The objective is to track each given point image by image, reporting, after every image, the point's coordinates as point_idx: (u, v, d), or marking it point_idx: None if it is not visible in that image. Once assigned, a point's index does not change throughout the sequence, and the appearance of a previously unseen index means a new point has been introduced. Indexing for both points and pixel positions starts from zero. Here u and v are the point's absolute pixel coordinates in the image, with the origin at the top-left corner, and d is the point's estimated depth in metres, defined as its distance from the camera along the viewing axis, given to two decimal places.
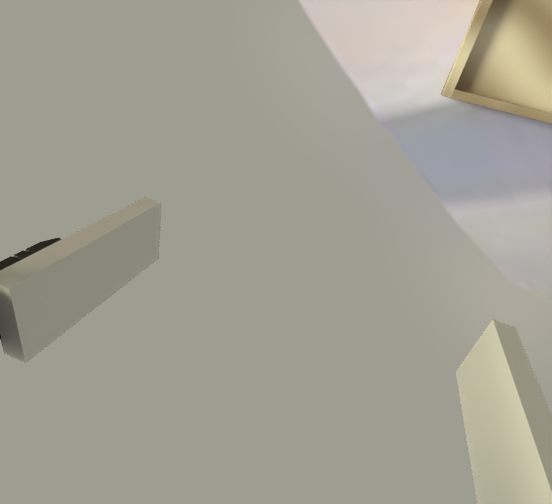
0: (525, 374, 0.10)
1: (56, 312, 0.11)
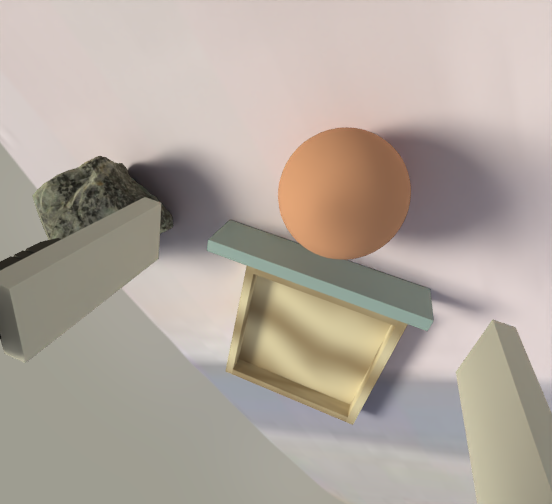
0: (525, 374, 0.10)
1: (56, 312, 0.11)
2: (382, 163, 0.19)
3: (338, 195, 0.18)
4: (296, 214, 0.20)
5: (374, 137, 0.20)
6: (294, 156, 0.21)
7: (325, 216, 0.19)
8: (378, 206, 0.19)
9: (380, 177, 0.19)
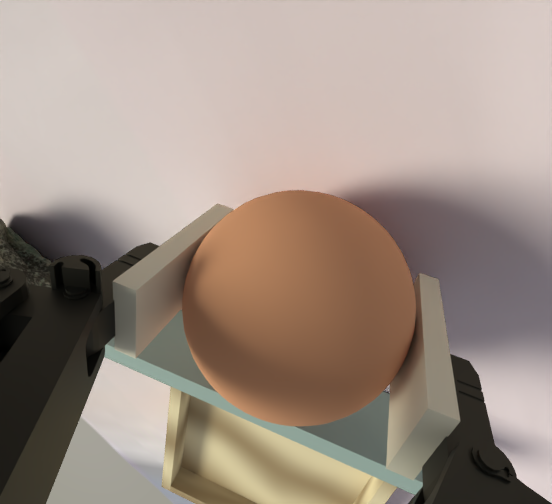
0: (434, 311, 0.12)
1: (159, 312, 0.12)
2: (359, 279, 0.09)
3: (268, 346, 0.09)
4: (200, 360, 0.11)
5: (347, 217, 0.10)
6: (202, 245, 0.11)
7: (247, 380, 0.10)
8: (351, 366, 0.09)
9: (356, 310, 0.09)
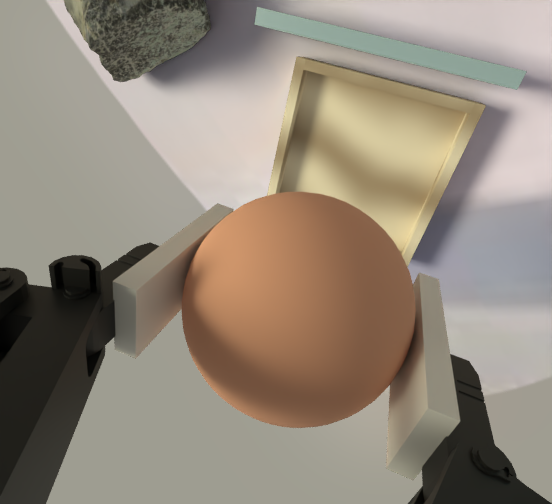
0: (434, 311, 0.12)
1: (159, 312, 0.12)
2: (358, 280, 0.09)
3: (268, 348, 0.09)
4: (200, 361, 0.11)
5: (347, 219, 0.10)
6: (202, 247, 0.11)
7: (246, 382, 0.10)
8: (351, 367, 0.09)
9: (355, 311, 0.09)
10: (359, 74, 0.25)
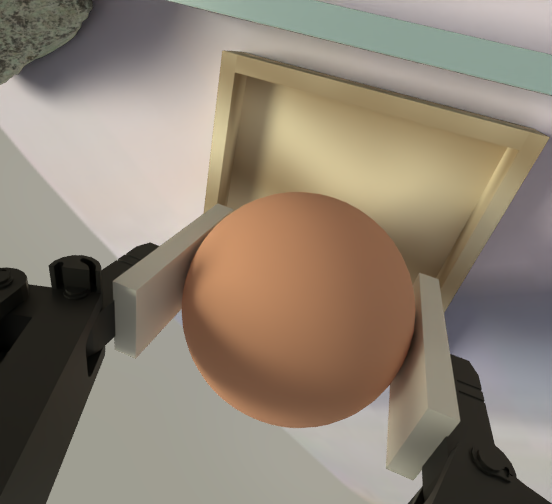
0: (434, 311, 0.12)
1: (159, 312, 0.12)
2: (358, 281, 0.09)
3: (268, 348, 0.09)
4: (200, 361, 0.11)
5: (346, 219, 0.10)
6: (202, 247, 0.11)
7: (246, 382, 0.10)
8: (351, 367, 0.09)
9: (355, 311, 0.09)
10: (326, 80, 0.15)
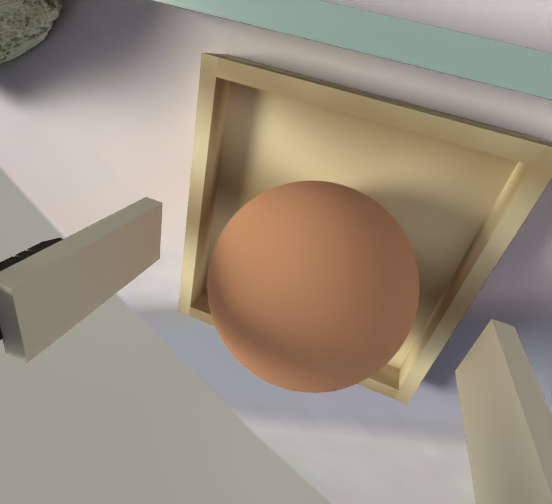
0: (523, 373, 0.10)
1: (58, 312, 0.11)
2: (373, 256, 0.11)
3: (296, 317, 0.10)
4: (230, 335, 0.12)
5: (359, 203, 0.12)
6: (227, 232, 0.12)
7: (276, 350, 0.11)
8: (369, 332, 0.11)
9: (372, 283, 0.10)
10: (317, 86, 0.13)
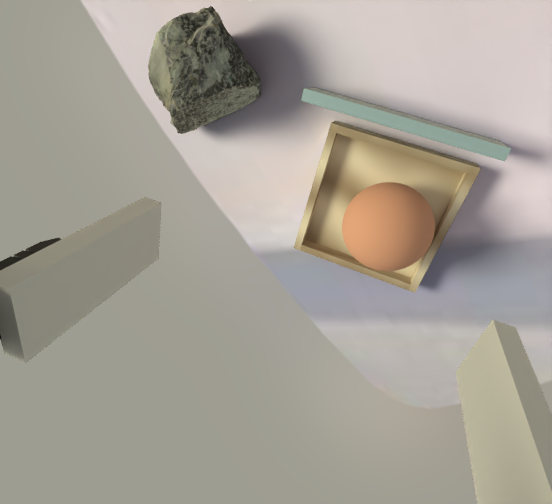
0: (525, 374, 0.10)
1: (56, 312, 0.11)
2: (425, 209, 0.29)
3: (404, 234, 0.29)
4: (372, 247, 0.30)
5: (413, 190, 0.30)
6: (363, 207, 0.30)
7: (395, 248, 0.29)
8: (426, 237, 0.29)
9: (426, 219, 0.29)
10: (381, 139, 0.32)
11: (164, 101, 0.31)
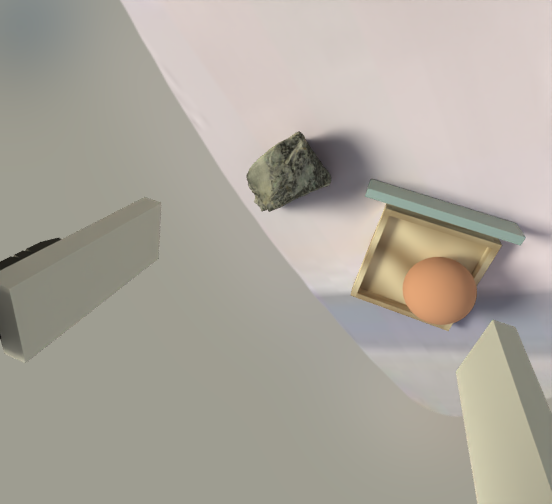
0: (525, 374, 0.10)
1: (56, 312, 0.11)
2: (472, 281, 0.40)
3: (464, 303, 0.39)
4: (440, 315, 0.40)
5: (460, 266, 0.40)
6: (429, 285, 0.39)
7: (458, 313, 0.39)
8: (475, 300, 0.40)
9: (474, 288, 0.40)
10: (425, 221, 0.42)
11: (262, 199, 0.41)
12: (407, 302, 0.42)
